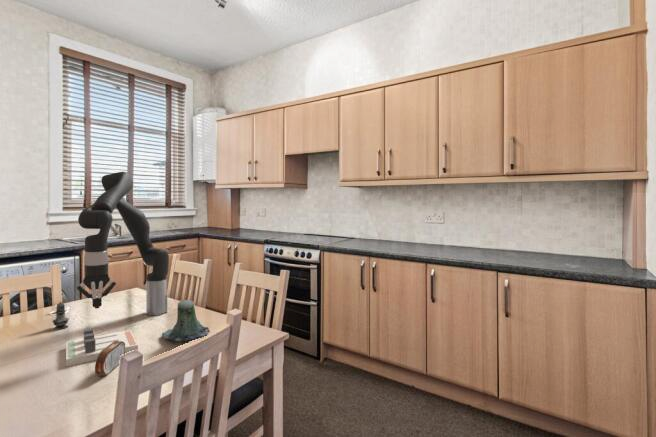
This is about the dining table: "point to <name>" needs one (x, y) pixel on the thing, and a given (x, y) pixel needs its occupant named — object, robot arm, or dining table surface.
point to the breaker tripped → (88, 337)
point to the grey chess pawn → (60, 317)
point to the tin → (109, 358)
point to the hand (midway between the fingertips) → (96, 307)
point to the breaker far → (88, 331)
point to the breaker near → (89, 345)
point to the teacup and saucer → (56, 310)
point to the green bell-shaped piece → (185, 325)
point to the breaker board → (97, 347)
